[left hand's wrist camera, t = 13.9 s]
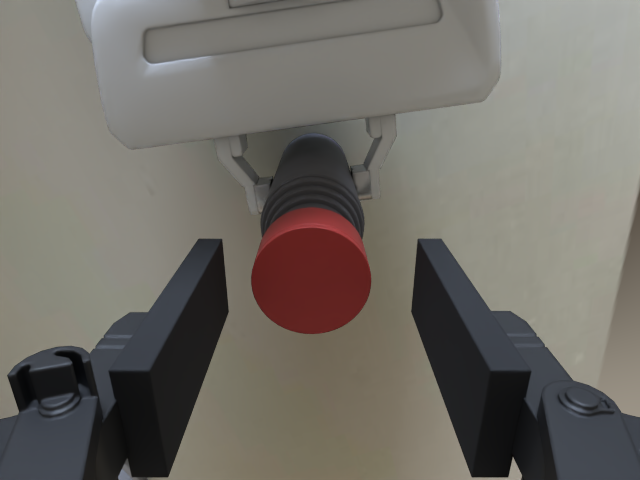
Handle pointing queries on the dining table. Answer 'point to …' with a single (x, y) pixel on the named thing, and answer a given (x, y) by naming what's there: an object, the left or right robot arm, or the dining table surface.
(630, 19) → the dining table surface
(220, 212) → the dining table surface
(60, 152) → the dining table surface
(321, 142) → the bottle
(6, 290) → the dining table surface
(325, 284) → the cap
